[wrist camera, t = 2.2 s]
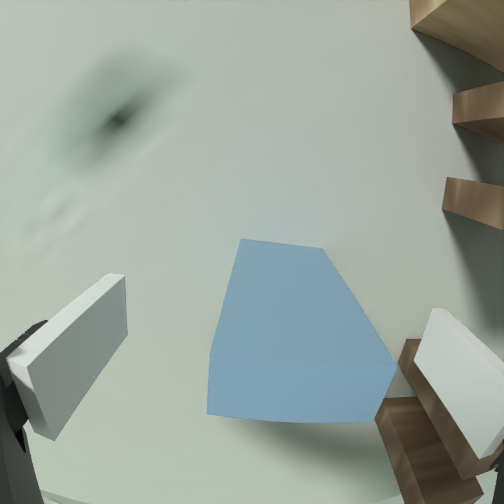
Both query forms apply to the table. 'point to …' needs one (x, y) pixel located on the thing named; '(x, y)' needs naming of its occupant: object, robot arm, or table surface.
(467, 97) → the domino
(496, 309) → the table surface
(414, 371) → the domino
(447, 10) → the end block
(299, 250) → the domino
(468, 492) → the domino
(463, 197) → the domino
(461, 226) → the table surface
